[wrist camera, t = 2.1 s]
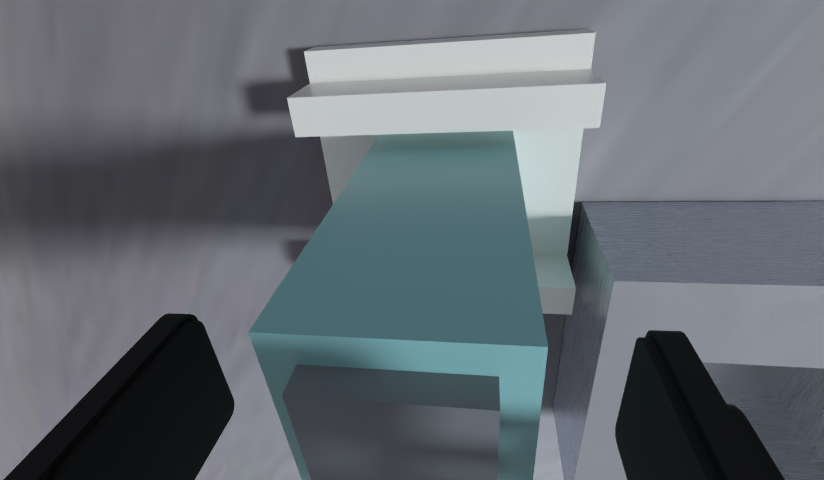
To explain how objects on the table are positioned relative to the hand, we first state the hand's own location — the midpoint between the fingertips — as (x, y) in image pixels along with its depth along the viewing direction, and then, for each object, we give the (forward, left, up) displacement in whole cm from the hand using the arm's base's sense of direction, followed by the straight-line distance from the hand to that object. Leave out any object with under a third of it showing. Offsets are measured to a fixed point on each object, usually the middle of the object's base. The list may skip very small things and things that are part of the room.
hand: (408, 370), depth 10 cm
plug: (-1, 0, -8) cm, 8 cm away
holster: (-1, 0, -9) cm, 9 cm away
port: (+6, +11, -9) cm, 16 cm away
